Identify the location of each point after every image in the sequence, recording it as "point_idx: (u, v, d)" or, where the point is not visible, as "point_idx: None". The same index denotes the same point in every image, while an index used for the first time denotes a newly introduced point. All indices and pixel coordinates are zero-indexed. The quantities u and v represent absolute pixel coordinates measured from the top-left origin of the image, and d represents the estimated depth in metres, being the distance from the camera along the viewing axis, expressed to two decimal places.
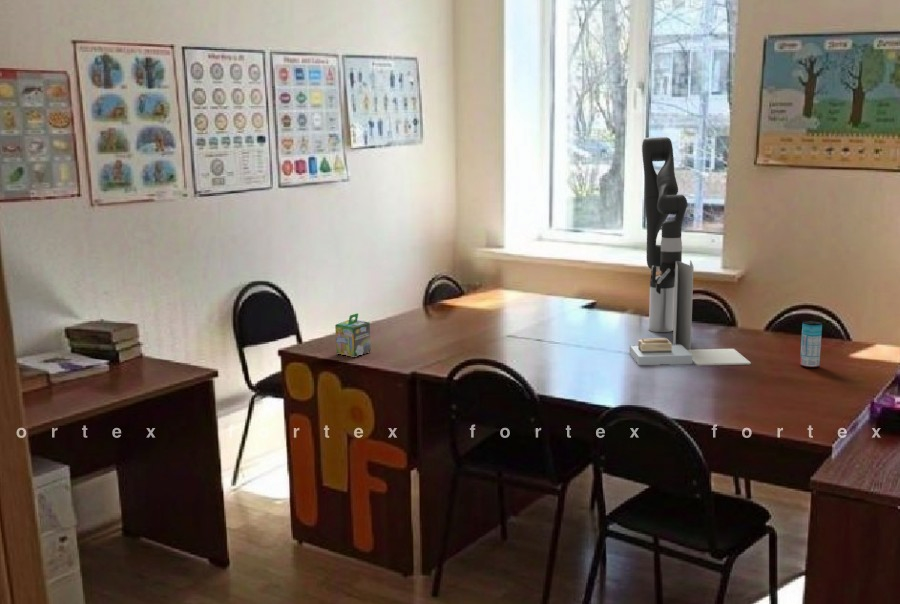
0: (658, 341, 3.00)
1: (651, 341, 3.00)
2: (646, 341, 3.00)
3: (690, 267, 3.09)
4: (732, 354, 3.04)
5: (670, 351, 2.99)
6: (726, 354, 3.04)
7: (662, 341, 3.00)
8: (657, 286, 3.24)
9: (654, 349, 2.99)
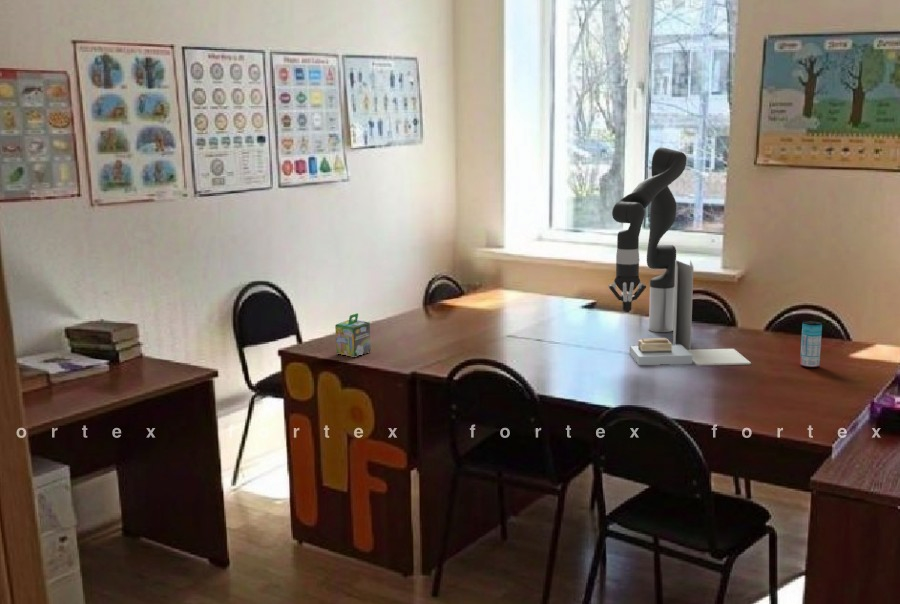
0: (658, 341, 3.00)
1: (651, 341, 3.00)
2: (646, 341, 3.00)
3: (690, 267, 3.09)
4: (732, 354, 3.04)
5: (670, 351, 2.99)
6: (726, 354, 3.04)
7: (662, 341, 3.00)
8: (624, 304, 2.98)
9: (654, 349, 2.99)
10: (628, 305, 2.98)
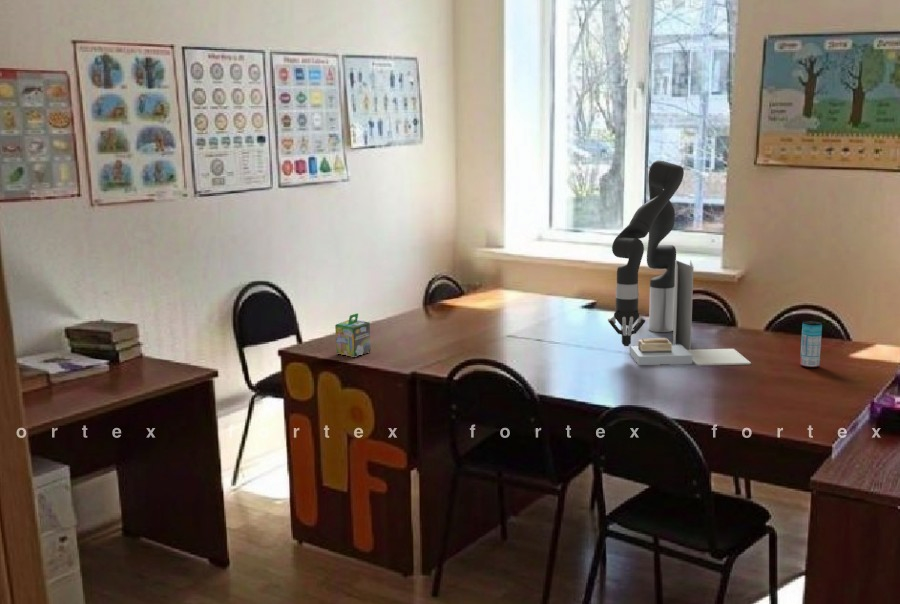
0: (658, 341, 3.00)
1: (651, 341, 3.00)
2: (646, 341, 3.00)
3: (690, 267, 3.09)
4: (732, 354, 3.04)
5: (670, 351, 2.99)
6: (726, 354, 3.04)
7: (662, 341, 3.00)
8: (623, 338, 3.00)
9: (654, 349, 2.99)
10: (627, 339, 3.00)
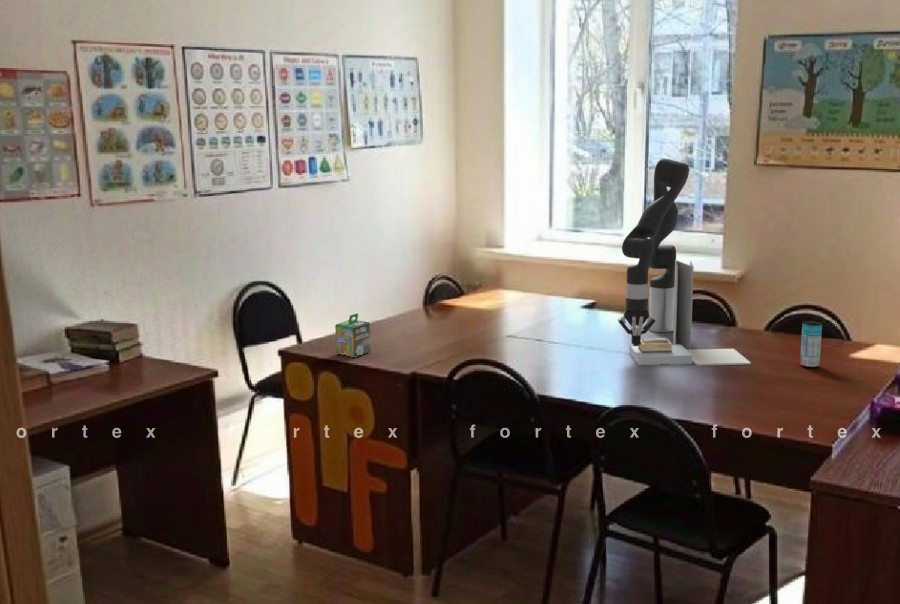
0: (658, 341, 3.00)
1: (651, 341, 3.00)
2: (646, 341, 3.00)
3: (690, 267, 3.09)
4: (732, 354, 3.04)
5: (670, 351, 2.99)
6: (726, 354, 3.04)
7: (662, 341, 3.00)
8: (633, 338, 3.01)
9: (654, 349, 2.99)
10: (637, 339, 3.00)
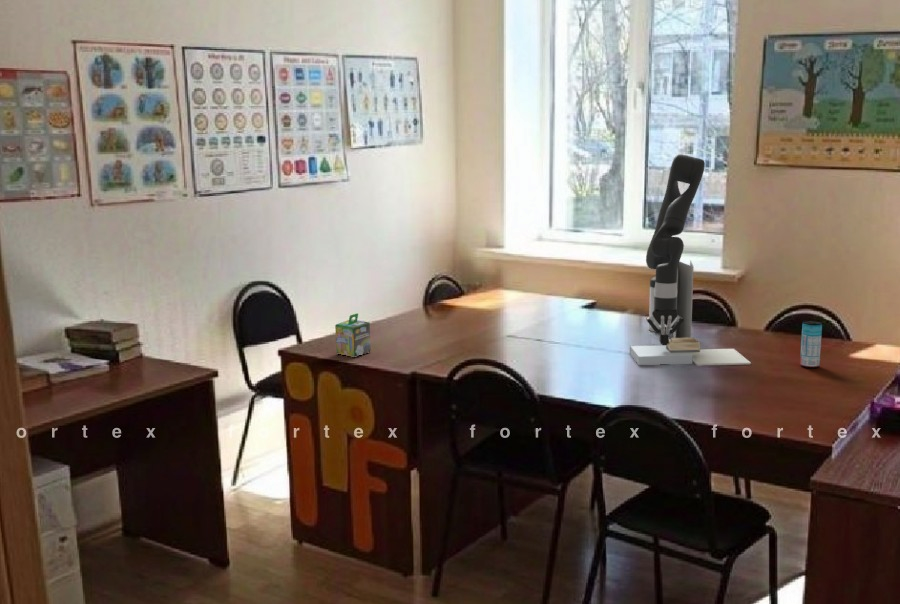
0: (686, 340, 3.00)
1: (679, 340, 3.00)
2: (674, 340, 3.00)
3: (690, 267, 3.09)
4: (732, 354, 3.04)
5: (698, 350, 2.99)
6: (726, 354, 3.04)
7: (690, 340, 3.00)
8: (661, 337, 3.00)
9: (682, 348, 2.99)
10: (665, 338, 3.00)
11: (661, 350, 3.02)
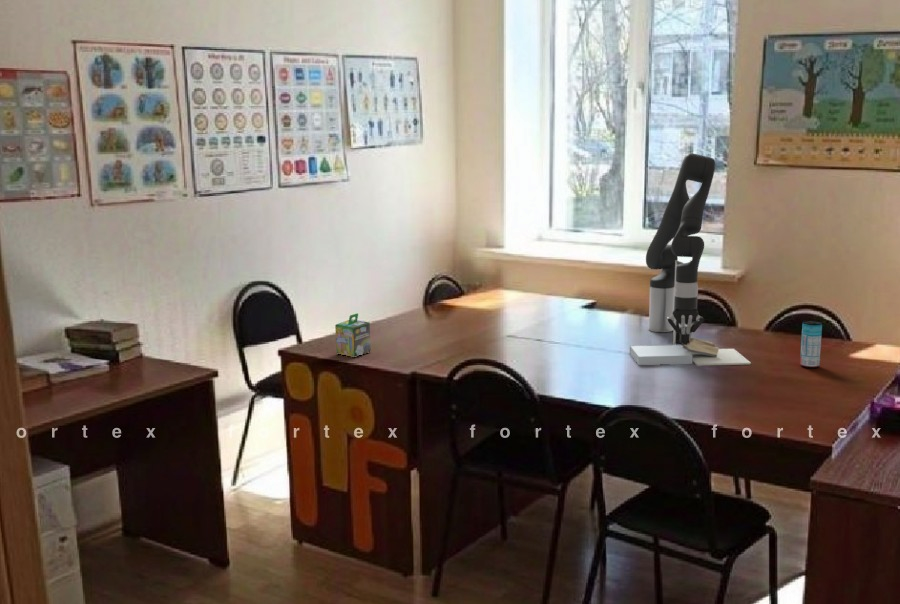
0: (706, 343, 3.01)
1: (700, 342, 3.01)
2: (695, 341, 3.00)
3: None
4: (732, 354, 3.04)
5: (715, 355, 3.01)
6: (726, 354, 3.04)
7: (709, 344, 3.01)
8: (681, 336, 3.00)
9: (701, 350, 3.00)
10: (686, 337, 3.00)
11: (661, 350, 3.02)
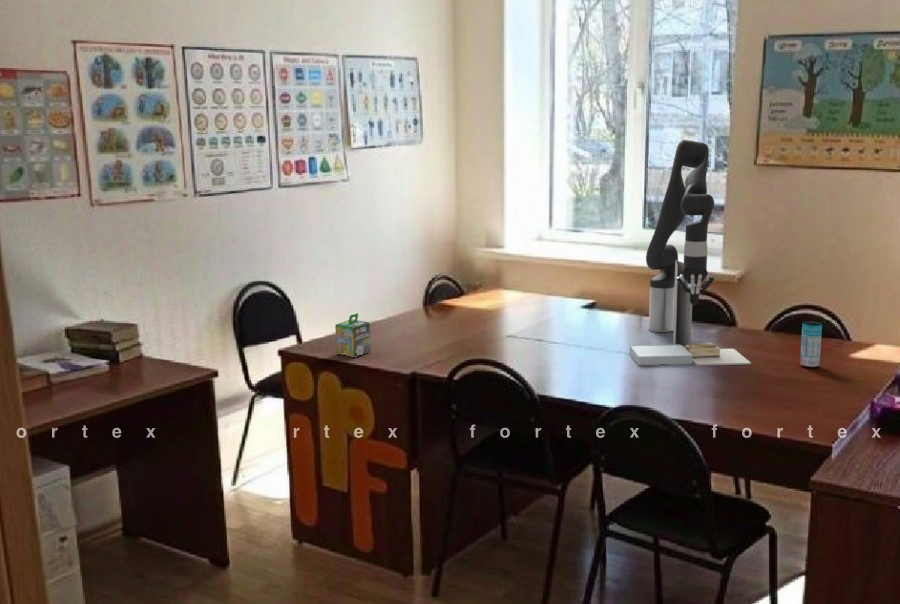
0: (706, 346, 3.01)
1: (699, 346, 3.01)
2: (694, 346, 3.01)
3: None
4: (732, 354, 3.04)
5: (718, 356, 3.01)
6: (726, 354, 3.04)
7: (710, 346, 3.01)
8: (691, 296, 2.98)
9: (703, 354, 3.00)
10: (695, 297, 2.97)
11: (661, 350, 3.02)
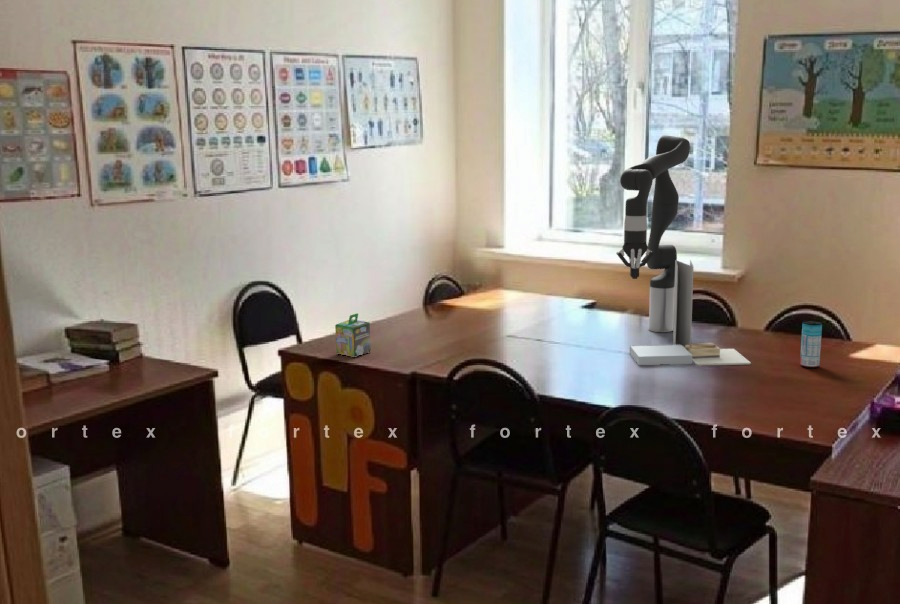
0: (706, 346, 3.01)
1: (699, 346, 3.01)
2: (694, 346, 3.01)
3: (690, 267, 3.09)
4: (732, 354, 3.04)
5: (718, 356, 3.01)
6: (726, 354, 3.04)
7: (710, 346, 3.01)
8: (631, 270, 3.03)
9: (703, 354, 3.00)
10: (636, 271, 3.02)
11: (661, 350, 3.02)
